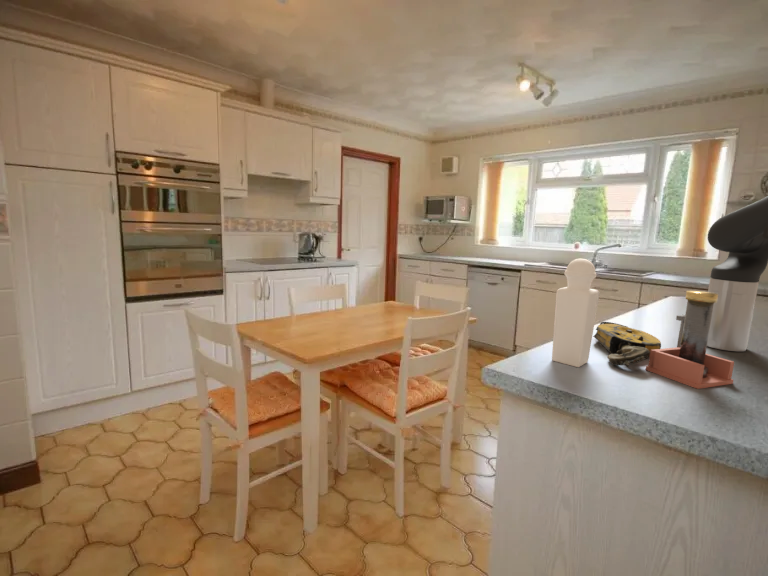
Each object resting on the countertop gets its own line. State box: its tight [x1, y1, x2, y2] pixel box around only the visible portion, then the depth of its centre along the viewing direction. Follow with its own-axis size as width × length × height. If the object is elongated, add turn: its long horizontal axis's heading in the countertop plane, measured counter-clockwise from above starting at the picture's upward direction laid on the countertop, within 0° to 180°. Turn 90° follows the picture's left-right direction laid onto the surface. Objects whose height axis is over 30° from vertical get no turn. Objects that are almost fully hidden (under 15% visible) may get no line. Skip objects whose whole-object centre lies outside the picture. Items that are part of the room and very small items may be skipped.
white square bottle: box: [551, 257, 600, 368], centre depth 83 cm, size 6×6×22 cm
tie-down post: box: [679, 290, 718, 378], centre depth 78 cm, size 6×6×16 cm
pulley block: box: [592, 321, 662, 367], centre depth 92 cm, size 14×6×30 cm
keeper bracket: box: [645, 314, 735, 390], centre depth 79 cm, size 11×11×11 cm
